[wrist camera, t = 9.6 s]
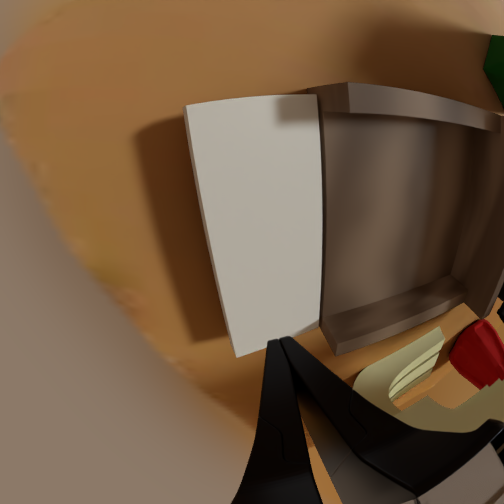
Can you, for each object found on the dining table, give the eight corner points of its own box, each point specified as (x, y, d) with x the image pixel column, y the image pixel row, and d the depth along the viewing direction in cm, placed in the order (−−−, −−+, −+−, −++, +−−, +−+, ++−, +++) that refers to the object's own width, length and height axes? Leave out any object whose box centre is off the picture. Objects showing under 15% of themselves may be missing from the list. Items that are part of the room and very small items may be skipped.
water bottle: (453, 332, 33) (531, 438, 12) (487, 311, 34) (559, 397, 13) (435, 366, 38) (497, 462, 16) (470, 344, 39) (530, 425, 17)
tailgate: (316, 94, 13) (186, 105, 11) (318, 327, 21) (236, 357, 19) (302, 95, 14) (182, 107, 12) (309, 316, 22) (230, 344, 21)
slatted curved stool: (340, 338, 26) (421, 487, 10) (450, 281, 26) (541, 378, 11) (343, 428, 41) (375, 502, 26) (414, 392, 41) (452, 456, 26)
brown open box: (466, 108, 16) (534, 127, 9) (443, 273, 25) (488, 314, 18) (307, 88, 14) (387, 78, 7) (313, 314, 23) (351, 386, 16)
